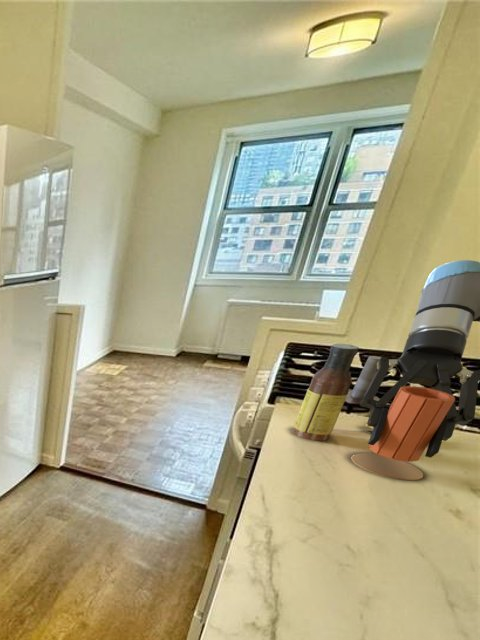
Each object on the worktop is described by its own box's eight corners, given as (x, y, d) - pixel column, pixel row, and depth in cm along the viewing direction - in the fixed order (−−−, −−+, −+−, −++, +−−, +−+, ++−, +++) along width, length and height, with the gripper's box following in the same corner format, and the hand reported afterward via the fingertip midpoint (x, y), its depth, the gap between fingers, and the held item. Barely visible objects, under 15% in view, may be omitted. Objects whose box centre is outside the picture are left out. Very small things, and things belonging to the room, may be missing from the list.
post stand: (361, 396, 123) (383, 352, 117) (388, 410, 115) (413, 364, 109) (322, 394, 124) (342, 351, 118) (346, 408, 116) (368, 363, 111)
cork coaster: (394, 457, 96) (395, 454, 96) (437, 484, 87) (438, 481, 87) (338, 454, 97) (339, 451, 97) (374, 480, 89) (376, 477, 88)
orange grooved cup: (399, 444, 93) (432, 386, 87) (429, 463, 87) (467, 401, 81) (359, 442, 94) (390, 385, 88) (386, 460, 88) (421, 400, 82)
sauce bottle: (333, 438, 103) (377, 347, 94) (319, 445, 100) (363, 353, 91) (297, 427, 108) (335, 339, 99) (283, 433, 105) (321, 344, 96)
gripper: (503, 359, 88) (470, 472, 85) (358, 340, 99) (324, 440, 96) (530, 336, 82) (496, 457, 78) (372, 320, 93) (337, 425, 89)
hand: (401, 447), depth 87 cm, fingers closed on orange grooved cup, 7 cm apart
